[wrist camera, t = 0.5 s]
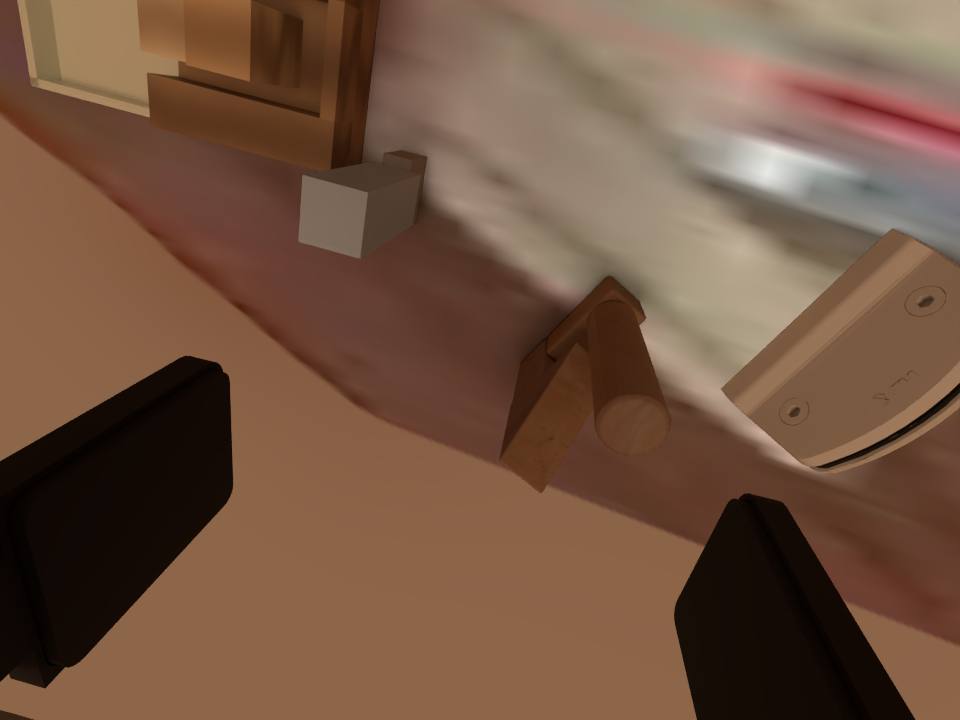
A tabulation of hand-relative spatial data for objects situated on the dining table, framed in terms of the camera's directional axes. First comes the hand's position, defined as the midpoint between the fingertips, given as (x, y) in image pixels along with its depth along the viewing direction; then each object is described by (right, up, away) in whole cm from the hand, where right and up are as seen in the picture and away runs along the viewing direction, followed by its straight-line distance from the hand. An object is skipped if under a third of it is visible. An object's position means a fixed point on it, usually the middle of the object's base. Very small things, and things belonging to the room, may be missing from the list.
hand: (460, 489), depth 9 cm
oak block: (-14, +23, +24) cm, 36 cm away
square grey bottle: (-5, +16, +29) cm, 34 cm away
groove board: (-14, +25, +27) cm, 39 cm away
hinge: (+28, +4, +29) cm, 41 cm away
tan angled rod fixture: (+9, +5, +32) cm, 34 cm away
